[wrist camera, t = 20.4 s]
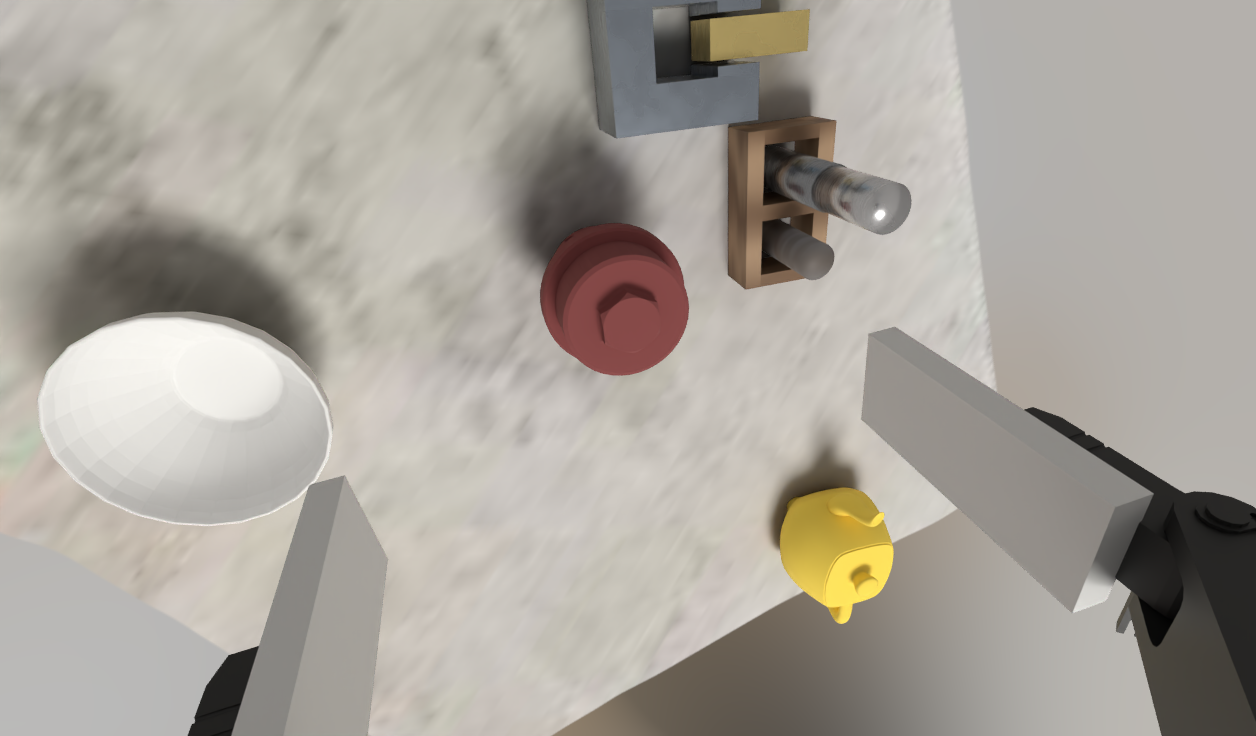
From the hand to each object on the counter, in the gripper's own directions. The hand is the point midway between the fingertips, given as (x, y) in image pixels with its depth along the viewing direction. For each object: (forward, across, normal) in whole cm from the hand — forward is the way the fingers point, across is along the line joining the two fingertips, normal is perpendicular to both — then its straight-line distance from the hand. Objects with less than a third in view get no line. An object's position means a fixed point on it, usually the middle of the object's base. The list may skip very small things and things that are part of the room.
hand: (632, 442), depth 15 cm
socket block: (+33, +12, +7) cm, 36 cm away
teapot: (+33, +25, -43) cm, 60 cm away
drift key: (+33, +18, +6) cm, 38 cm away
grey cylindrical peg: (+33, +20, -3) cm, 39 cm away
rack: (+33, +20, -6) cm, 39 cm away
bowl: (+33, -24, -10) cm, 42 cm away
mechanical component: (+33, +5, -8) cm, 34 cm away
